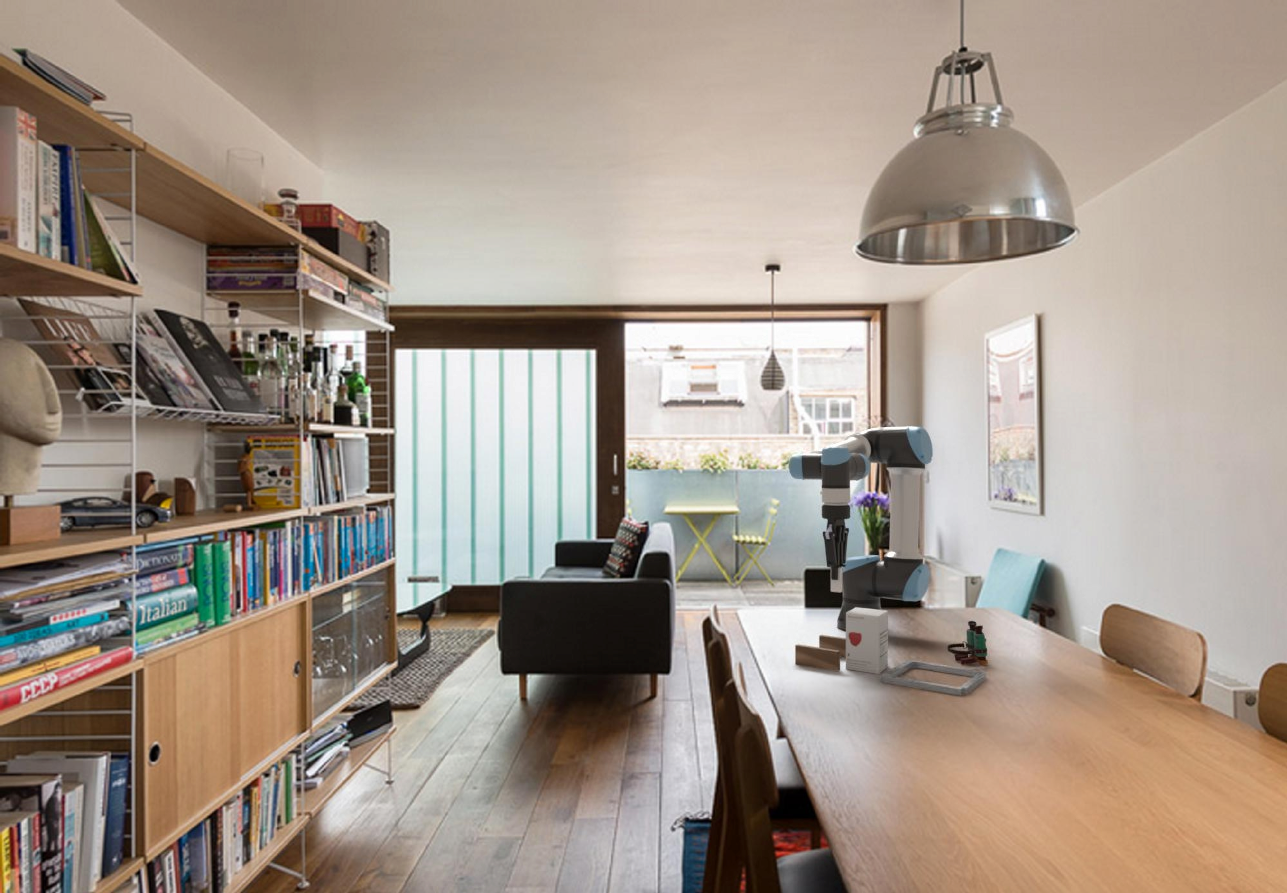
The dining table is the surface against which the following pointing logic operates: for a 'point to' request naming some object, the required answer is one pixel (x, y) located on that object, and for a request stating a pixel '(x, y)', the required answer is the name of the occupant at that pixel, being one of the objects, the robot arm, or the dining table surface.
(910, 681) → the gray rectangular frame
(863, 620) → the supplement box
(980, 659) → the binoculars
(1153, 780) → the dining table surface
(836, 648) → the wooden blocks
